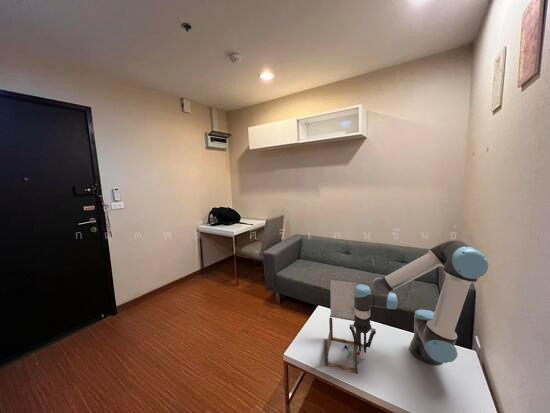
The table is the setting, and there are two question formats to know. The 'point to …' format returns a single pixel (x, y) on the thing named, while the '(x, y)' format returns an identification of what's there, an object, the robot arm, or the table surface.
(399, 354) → the table surface
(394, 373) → the table surface
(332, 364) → the housing
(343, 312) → the lid
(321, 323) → the table surface
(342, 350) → the molecular model
